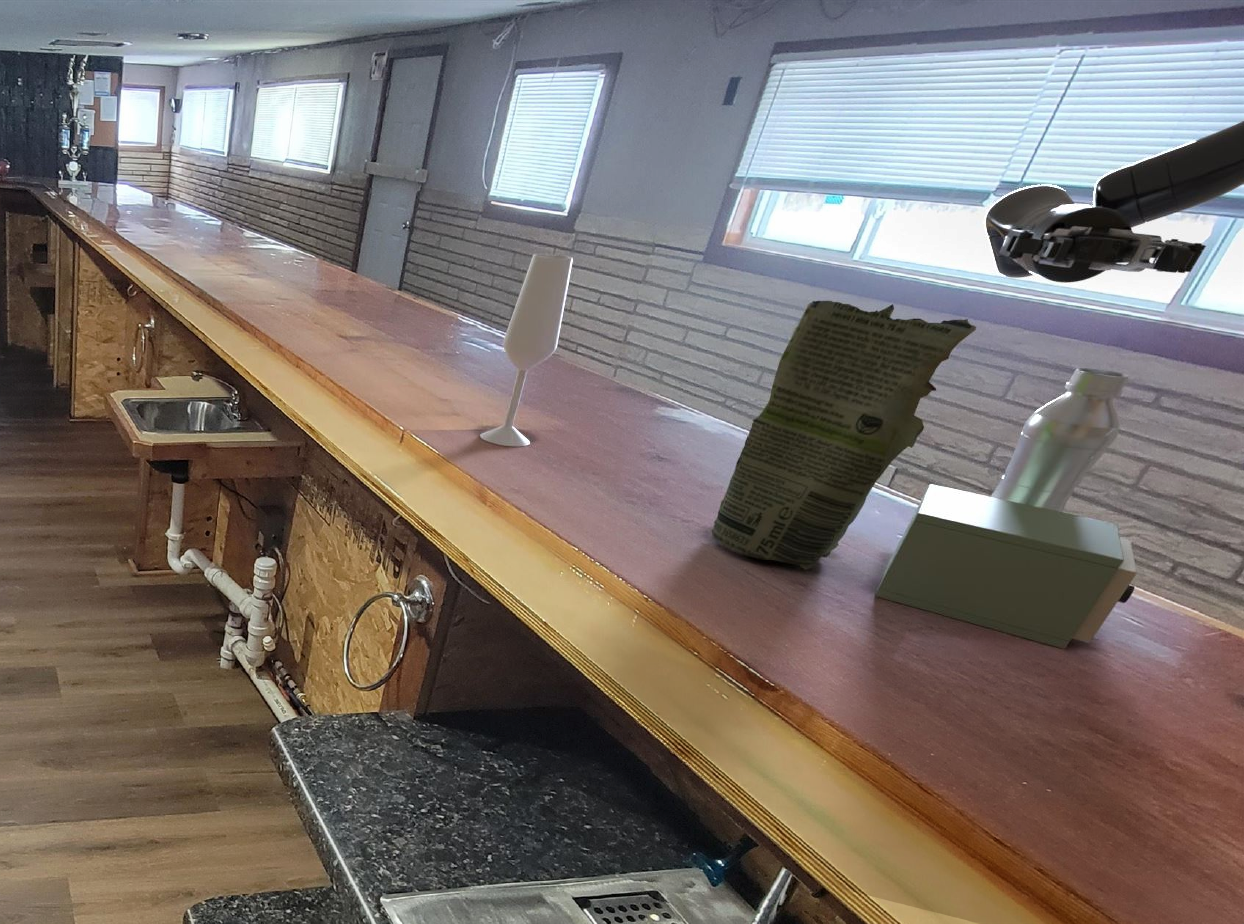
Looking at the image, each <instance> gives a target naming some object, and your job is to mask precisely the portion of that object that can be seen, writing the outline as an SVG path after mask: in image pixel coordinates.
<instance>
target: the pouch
mask: <svg viewBox="0 0 1244 924" xmlns="http://www.w3.org/2000/svg"><path fill="white" fill-rule="evenodd" d="M894 310H895V306H894V303H892V304H891V305H889V306H887V307H885V308H883V309H881V310H879V311H878V310H877V309H876V310H875V311H866V310H863V309H861V308H859V307H858V306H854V305H851V304H850V303H843V302H840V301H833V300H812V301H811V302H809V303H808V304H807V306H806V309H805V310H804V312H803V314H802V316H801V318H800V320H799V322H798V324H797V326H796V327H795V328H794V330H793V333H792V336H791V338H790V340H789V342H788V344H787V346H786V347H785V349H784V352H783V353H782V356H781V357H780V360H779V361H778V366H777V369H776V372H775V375H774V379H773V382H772V386H771V391H770V394H769V395H770V396H769V400H768V402H767V404H766V405H765V407H764V408H763V410H762V412H760V414H759V415H758V416H757V417H756V418H754V419H752V422H751V428H750V430H749V432H748V435H747V437H746V438H745V441H744V445H743V447H742V450H741V452H740V455H739V457H738V459H737V461H736V463H735V467H734V471H733V473H732V476H731V478H730V480H729V483H728V486H727V489H726V491H725V494H724V497H723V498H722V500H721V501H720V504H719V505H720V506H719V509H718V512H717V516H716V518H715V520H714V522H713V527H712V529H711V530H710V531H711V534H712V539H714V540H715V541H716V542H718V543H720V544H721V545H722V546H723V547H724V548H726V549H727V550H729V551H730V552H734V553H737V554H741V555H743V556H746V557H751V558H754V559H757V560H765V561H766V560H767V561H768V560H769V561H777V562H782V563H787V564H791V565H797V566H798V567H800V568H801V569H803V570H805V571H807V570H809V569H810V568H812V567H813V566H814V565H816V564H817V563H818V562H819V561H820V560H821V558H828V557H829V556H830V555H831V551H833V550H835V549H836V548H838V546H839V542H840V541H841V540H842V538H843V537H844V536H845V534H846V533H847V531H848V528H849V527H850V525H851V524H853V522H854V521H855V520H856V518H857V517H858V515H859V514H860V512H861V510H862V509H863V507H864V505H865V503H866V501H867V497H868V496H869V494H870V492H871V491H872V489H873V488H874V485H875V484H876V483H877V481H878V480H879V479H880V478H881V477H882V476H883V474H884V472H885V471H887V469H888V467H889V466H890V465H891V463H892V462H893V461H894V460H895V459H896V458H897V457H898V456H899V455H900V454H901V453H903V451H905V450H906V449H907V448H908V447H909V448H911V449H912V448H913V447H914V446H915V444H916V443H917V439H918V437H919V436H920V435H921V434H922V432H923V431H924V429H925V425H924V422H923V419H921V418H920V417H918V416H917V415H915V414H916V412H917V409H918V406H919V404H920V401H921V399H922V398H926V397H927V396H929V395H930V393H932V392H937V388H936V386H935V385H933V384H932V383H931V382H930V380H931V379H932V377H933V375H934V374H935V372H936V370H937V368H938V367H939V366H940V365H941V364H942V362H944V361H947V360H949V359H950V355H951V353H952V351H953V350H954V349H955V348H956V347H957V346H958V345H959V344H960V343H961V342H962V341H963V340H965V339H966V338H967V337H968V336H970V335H971V334H972V333H974V332H975V331H976V330H977V326H976V325H973V324H971V323H970V322H969V321H968V320H969V318H964V319H961V318H960V319H950V320H949V319H948V320H945V319H944V320H942V321H940V322H928V321H926V320H924V319H922V318H917V317H916V318H908V319H903V318H895V319H894V318H892V317H891V316H892V314H893V312H894Z"/></svg>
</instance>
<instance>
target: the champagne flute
mask: <svg viewBox="0 0 1244 924" xmlns="http://www.w3.org/2000/svg"><path fill="white" fill-rule="evenodd" d="M573 259H574V258H573V256H569V255H561V254H551V253H535V254H532V257H531V260H530V262H529V266H528V269H527V272H526V275H525V277H524V281H523V284H522V285H521V288H520V291H519V295H518V298H517V300H516V304H515V306H514V308H513V312H512V315H511V318H510V319H509V320H510V321H509V324H508V326H507V329H506V332H505V335H504V337H503V341H502V344H503V349H504V351H505V354H506V356H507V357H508V359H509V360H510V362H511V363H512V365H513V366H514V367H515V368H516V369H518V370H517V374H516V377H515V381H514V385H513V389H512V392H511V396H510V400H509V404H508V408H507V412H506V415H505V419H504V423H503V424H502V425H500V426H498V427H495V428H493V429H490V430H488V431H485V432H482V433H480V435H479V437H480V438H481V439H482V440H484V441H486V442H488V443H491V444H495V445H498V446H503V447H504V446H505V447H526V446H528V445H530V444H531V442H530V440H529V439H528V438H527V437H525V436H524V435H523V434H522V433H521V432H520V431H519V430H517V428H515V427H514V423H515V419H516V416H517V411H518V408H519V405H520V401H521V397H522V393H523V390H524V387H525V386H524V385H525V381H526V378H527V374H528V371H529V370H533V369H535V368H536V367H537V366H539V365H541V364H542V363H543V362H545V361H547V360H548V359H549V358H550V357H552V355H553V354H554V353H555V352H556V350H557V348H558V342H559V337H560V332H561V328H562V327H561V326H562V320H563V315H564V311H565V310H564V309H565V304H566V299H567V293H568V287H569V282H570V276H571V271H572V266H573V261H574V260H573Z"/></svg>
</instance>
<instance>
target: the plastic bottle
mask: <svg viewBox="0 0 1244 924" xmlns="http://www.w3.org/2000/svg"><path fill="white" fill-rule="evenodd" d="M1129 378H1130V375H1128V374H1126V373H1122V372H1117V371H1112V370H1106V369H1099V368H1092V367H1091V368H1089V367H1077V368H1076V369H1075V370H1074V372H1073V374H1072V375H1071V377H1070V379H1069V381H1067V382H1066V384H1065V385H1064V389H1065V390H1066V391H1065V393H1064V394H1062V395H1061V396H1059V397H1057V398H1056V399H1053V400H1052V401H1050V402H1048V403H1046V404H1045V405H1044V406H1042V407H1040V408H1038V409H1037V410H1036V411H1035V412H1033V414H1031V416H1030V417H1028V419H1027V420H1026V421H1025V423H1024V425H1023V427H1022V432H1020V435H1019V438H1018V440H1017V443H1016V445H1015V448H1014V451H1013V454H1012V457H1011V459H1010V461H1009V463H1008V465H1007V466H1006V469H1005V471H1004V475H1002V477H1001V478H1000V481H999V483H998V484H997V486H996V488H995V489H994V491H993V492H992V493H991V495H990V496H989V497H993V498H998V499H1003V500H1007V501H1012V502H1017V503H1022V504H1026V505H1031V506H1036V507H1040V508H1045V509H1050V510H1054V511H1059V512H1064V508H1065V507H1066V505H1067V503H1068V501H1069V499H1070V498H1071V497H1072V495H1073V493H1074V492H1075V489H1077V488H1078V486H1079V485H1080V484H1081V482H1082V481H1083V480H1084V478H1085V477H1086V475H1087V474H1088V472H1089V471H1090V470H1091V469H1092V468H1093V467H1094V465H1096V463H1097V462H1098V461H1099V460H1100V459H1101V457H1102V456H1103V455H1104V454H1105V453H1106V452H1107V450H1108V449H1109V447H1110V446H1112V444H1113V442H1115V440H1116V439H1117V437H1118V436H1119V431H1120V422H1119V421H1120V420H1119V417H1118V414H1117V413H1118V412H1117V410H1116V408H1115V405H1114V400H1115V398H1118V397H1119V398H1120V397H1121V395H1122V394H1123V392H1124V390H1123V389H1124V387H1125V386H1126V384H1127V382H1128V381H1129Z"/></svg>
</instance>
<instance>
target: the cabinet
mask: <svg viewBox="0 0 1244 924" xmlns="http://www.w3.org/2000/svg"><path fill="white" fill-rule="evenodd" d="M1120 537H1121V536H1120V530H1119V525H1118V523H1114V522H1110V521H1106V520H1100V519H1096V518H1093V517H1086V516H1082V515H1077V514H1073V513H1068V512H1064V511H1062V512H1059V511H1054V510H1050V509H1045V508H1040V507H1036V506H1031V505H1026V504H1022V503H1017V502H1012V501H1007V500H1003V499H998V498H993V497H990V496H988V495H985V494H980V493H979V494H978V493H975V492H971V491H965V490H961V489H955V488H951V487H946V486H942V485H938V484H937V485H936V484H932V483H929V485H928V487H927V489H926V491H925V493H924V494H923V496H922V498H921V500H920V502H919V504H918V506H917V508H916V509H915V511H914V513H913V515H912V517H911V519H910V521H909V523H908V524H907V527H906V528H905V531H904V533H903V534H902V537H901V538H900V540H899V542H898V544H897V546H896V548H895V549H894V552H893V554H892V555H891V557H890V559H889V561H888V563H887V566H886V568H885V570H884V572H883V575H882V578H881V580H880V582H879V585H878V587H877V589H876V591H875V594H874V596H875V597H877V598H880V599H884V600H887V601H891V602H895V603H898V604H901V605H906V606H909V607H913V608H915V609H919V610H923V611H927V612H930V613H934V614H938V615H942V616H944V617H948V618H952V619H956V620H958V621H962V622H965V623H970V624H974V625H977V626H980V627H984V628H987V629H991V630H994V631H998V632H1001V633H1005V634H1009V635H1013V636H1016V637H1019V638H1023V639H1027V640H1030V641H1034V642H1037V643H1041V644H1045V645H1048V646H1051V647H1056V648H1059V649H1063V650H1065V649H1066V648H1067V647H1068V645H1069V644H1070V642H1071V641H1072V638H1073V636H1074V635H1075V633H1076V632H1077V630H1078V629H1079V627H1080V626H1081V624H1082V623H1083V621H1084V620H1085V618H1086V617H1087V615H1088V614H1089V612H1090V611H1091V609H1092V608H1093V606H1094V605H1095V603H1096V602H1097V600H1098V599H1099V597H1100V596H1101V594H1102V593H1103V591H1104V590H1105V588H1106V587H1107V585H1108V584H1109V582H1110V581H1111V579H1112V578H1113V576H1114V575H1115V573H1116V572H1117V570H1118V568H1119V567H1120V566H1121V564H1122V563H1123V561H1124V559H1123V553H1122V547H1121V542H1120Z"/></svg>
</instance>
